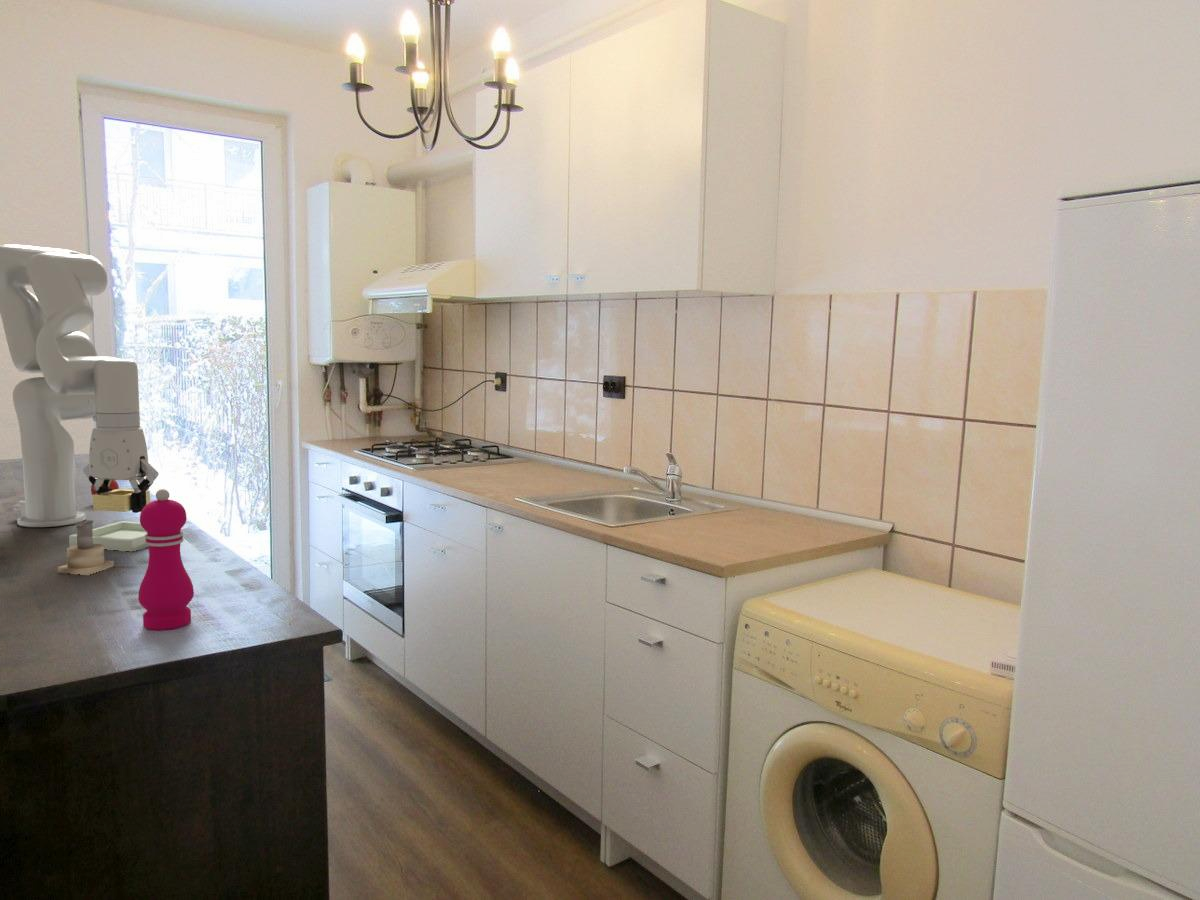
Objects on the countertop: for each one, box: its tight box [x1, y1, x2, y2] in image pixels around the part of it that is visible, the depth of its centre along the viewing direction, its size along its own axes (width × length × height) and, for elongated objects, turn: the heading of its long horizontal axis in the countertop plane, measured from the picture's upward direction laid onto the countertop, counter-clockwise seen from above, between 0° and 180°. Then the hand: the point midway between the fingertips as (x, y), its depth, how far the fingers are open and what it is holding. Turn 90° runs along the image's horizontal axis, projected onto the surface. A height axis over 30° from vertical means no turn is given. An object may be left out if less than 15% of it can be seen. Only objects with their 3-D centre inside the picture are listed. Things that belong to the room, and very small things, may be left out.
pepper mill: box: [137, 488, 195, 631], centre depth 122 cm, size 7×7×20 cm
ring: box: [92, 488, 151, 513], centre depth 168 cm, size 7×9×3 cm
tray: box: [68, 520, 182, 552], centre depth 169 cm, size 14×14×2 cm
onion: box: [90, 480, 120, 496], centre depth 204 cm, size 6×6×8 cm
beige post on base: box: [57, 519, 115, 576], centre depth 149 cm, size 6×6×9 cm
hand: (122, 509), depth 168 cm, fingers closed on ring, 7 cm apart
